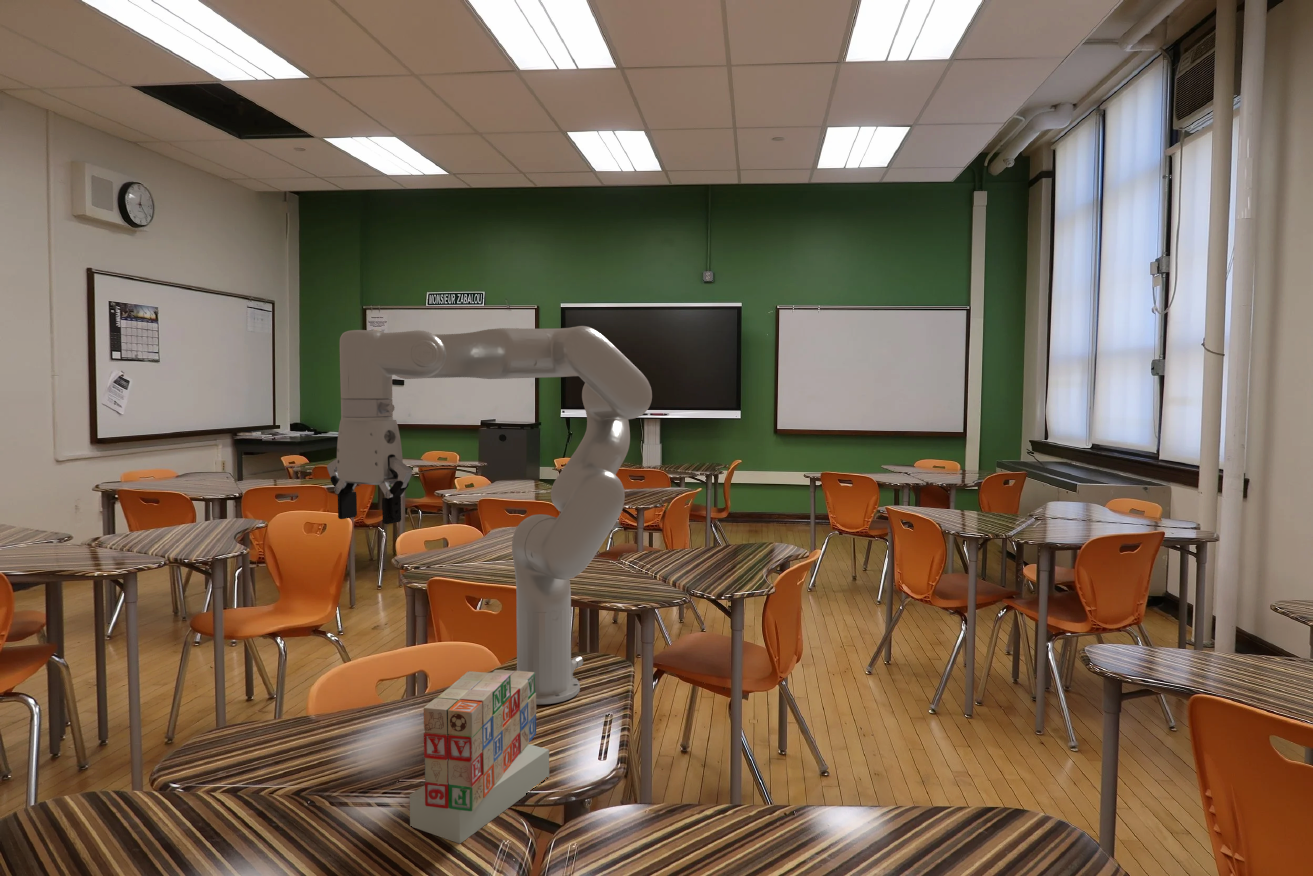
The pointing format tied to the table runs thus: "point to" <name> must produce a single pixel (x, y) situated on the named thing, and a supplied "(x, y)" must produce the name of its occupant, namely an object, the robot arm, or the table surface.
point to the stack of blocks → (476, 735)
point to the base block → (504, 794)
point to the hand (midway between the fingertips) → (369, 520)
